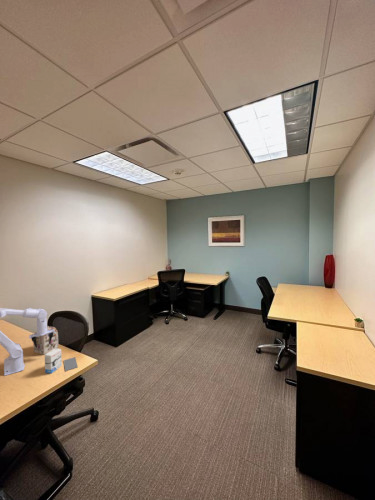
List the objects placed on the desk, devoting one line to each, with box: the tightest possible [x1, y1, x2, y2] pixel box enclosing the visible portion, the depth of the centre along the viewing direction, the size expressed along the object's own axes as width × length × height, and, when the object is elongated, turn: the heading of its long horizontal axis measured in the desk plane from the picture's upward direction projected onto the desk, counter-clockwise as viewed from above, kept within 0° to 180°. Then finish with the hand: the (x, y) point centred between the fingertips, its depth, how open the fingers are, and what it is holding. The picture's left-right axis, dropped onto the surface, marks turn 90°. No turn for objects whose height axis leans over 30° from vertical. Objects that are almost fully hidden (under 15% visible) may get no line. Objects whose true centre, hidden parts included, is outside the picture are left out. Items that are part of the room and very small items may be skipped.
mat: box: [63, 356, 79, 372], centre depth 137 cm, size 7×14×1 cm, turn 35°
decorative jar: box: [32, 325, 59, 356], centre depth 155 cm, size 12×12×18 cm
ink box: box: [44, 348, 63, 374], centre depth 131 cm, size 8×5×12 cm, turn 168°
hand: (43, 345), depth 141 cm, fingers open, 7 cm apart
